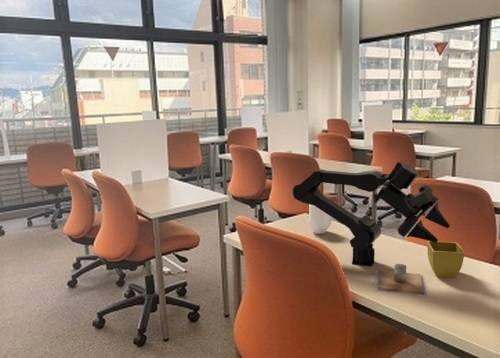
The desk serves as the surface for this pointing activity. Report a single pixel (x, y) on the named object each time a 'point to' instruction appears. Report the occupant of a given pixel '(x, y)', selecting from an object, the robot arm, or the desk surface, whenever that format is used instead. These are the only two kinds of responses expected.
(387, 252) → the desk surface
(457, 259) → the flower pot
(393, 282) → the lid
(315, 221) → the mug
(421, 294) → the tray
